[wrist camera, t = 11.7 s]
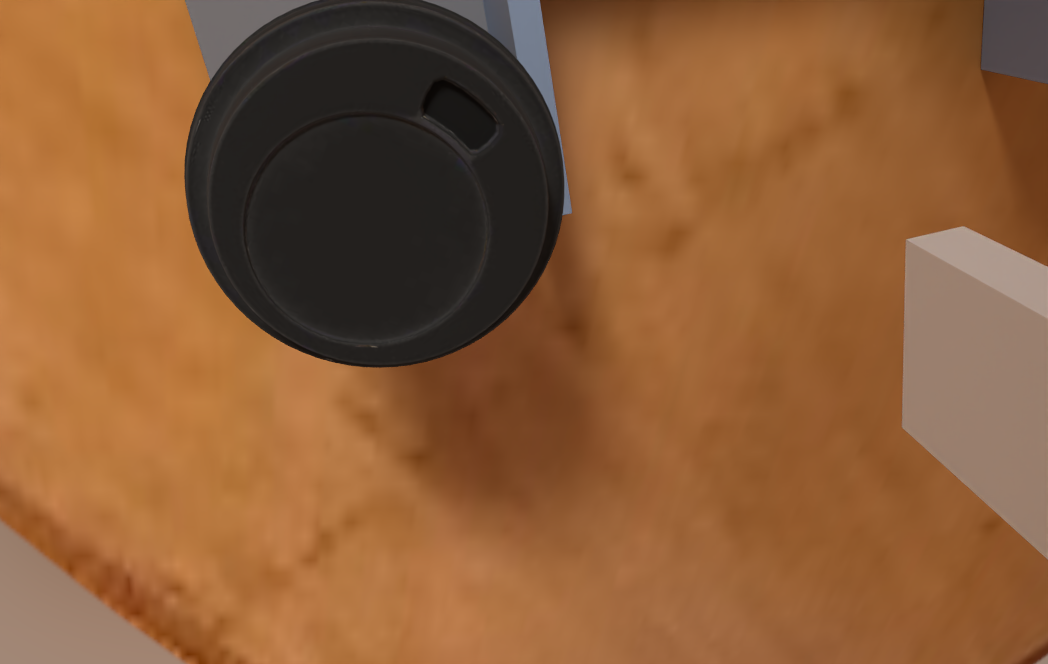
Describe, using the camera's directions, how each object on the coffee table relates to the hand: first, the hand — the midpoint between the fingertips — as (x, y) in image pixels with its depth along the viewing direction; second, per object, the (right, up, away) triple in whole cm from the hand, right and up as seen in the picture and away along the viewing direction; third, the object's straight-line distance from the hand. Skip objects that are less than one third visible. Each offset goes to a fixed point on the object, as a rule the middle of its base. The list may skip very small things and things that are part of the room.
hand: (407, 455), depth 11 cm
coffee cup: (-5, +10, +24) cm, 26 cm away
